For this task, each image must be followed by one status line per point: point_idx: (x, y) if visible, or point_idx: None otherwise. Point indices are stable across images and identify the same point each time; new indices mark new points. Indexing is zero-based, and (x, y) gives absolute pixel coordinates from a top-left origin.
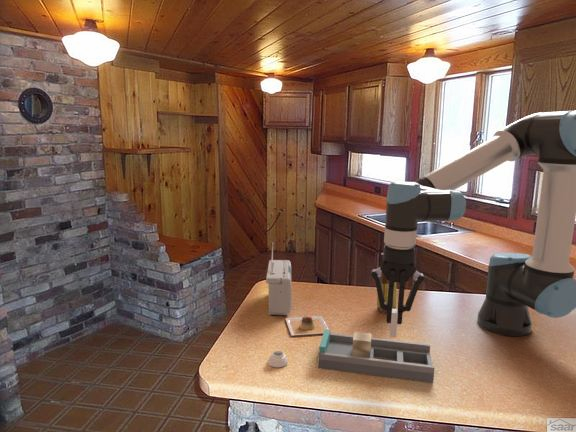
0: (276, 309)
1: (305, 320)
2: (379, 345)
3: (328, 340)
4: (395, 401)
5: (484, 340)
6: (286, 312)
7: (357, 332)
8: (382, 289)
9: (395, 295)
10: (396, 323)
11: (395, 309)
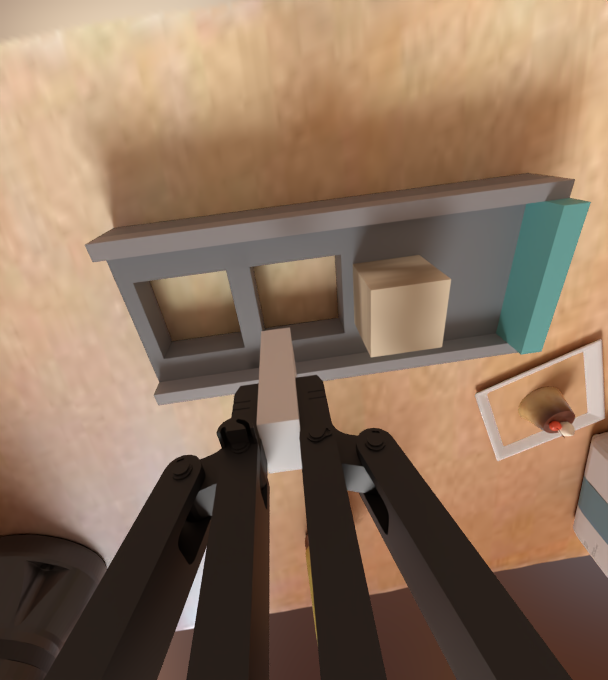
0: None
1: (566, 411)
2: (327, 357)
3: (518, 301)
4: (213, 16)
5: (57, 500)
6: (605, 439)
7: (429, 346)
8: (420, 609)
9: (311, 586)
10: (262, 376)
11: (281, 465)
